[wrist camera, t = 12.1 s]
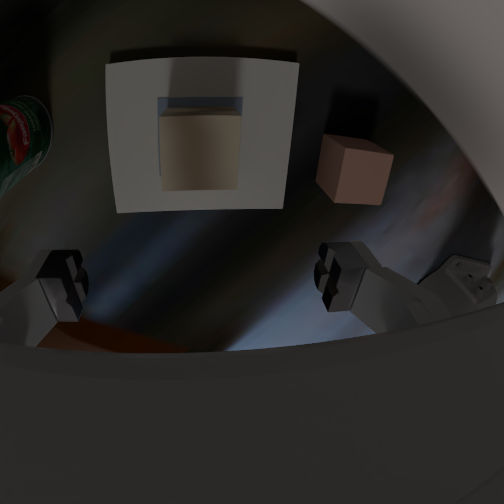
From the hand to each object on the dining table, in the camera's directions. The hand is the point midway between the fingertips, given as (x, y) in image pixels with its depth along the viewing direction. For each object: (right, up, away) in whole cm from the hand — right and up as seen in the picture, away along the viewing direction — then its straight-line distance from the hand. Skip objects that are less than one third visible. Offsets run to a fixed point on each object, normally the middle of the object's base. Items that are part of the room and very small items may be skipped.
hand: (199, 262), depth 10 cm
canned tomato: (-21, +12, +11) cm, 26 cm away
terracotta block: (+11, +10, +19) cm, 23 cm away
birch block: (-3, +10, +14) cm, 17 cm away
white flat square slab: (-3, +11, +15) cm, 19 cm away
